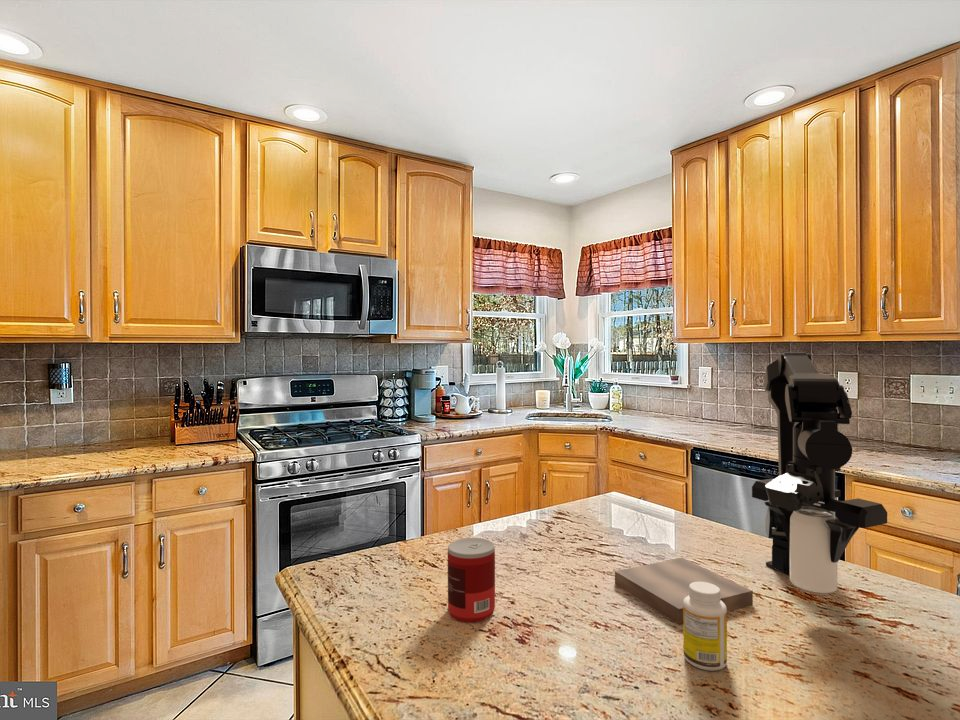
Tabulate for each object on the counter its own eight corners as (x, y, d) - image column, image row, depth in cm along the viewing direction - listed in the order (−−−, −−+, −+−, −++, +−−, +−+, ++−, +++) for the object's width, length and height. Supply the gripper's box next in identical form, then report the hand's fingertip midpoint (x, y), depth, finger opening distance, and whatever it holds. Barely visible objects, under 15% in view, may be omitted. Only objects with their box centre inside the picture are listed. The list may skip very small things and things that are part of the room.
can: (845, 596, 82) (845, 518, 82) (798, 593, 83) (798, 515, 83) (826, 579, 89) (827, 506, 88) (783, 576, 90) (783, 504, 90)
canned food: (500, 604, 91) (500, 540, 91) (485, 627, 84) (485, 556, 84) (458, 598, 94) (458, 535, 94) (440, 619, 86) (440, 551, 86)
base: (682, 570, 105) (682, 557, 105) (752, 605, 91) (752, 590, 90) (614, 584, 99) (614, 571, 99) (679, 624, 84) (679, 608, 84)
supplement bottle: (704, 646, 78) (704, 576, 78) (736, 667, 73) (736, 591, 73) (674, 655, 76) (674, 582, 76) (704, 676, 71) (704, 599, 71)
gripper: (728, 450, 91) (728, 543, 91) (839, 473, 74) (839, 586, 74) (774, 446, 95) (774, 534, 96) (889, 466, 78) (889, 573, 79)
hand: (813, 554), depth 86 cm, fingers closed on can, 6 cm apart
